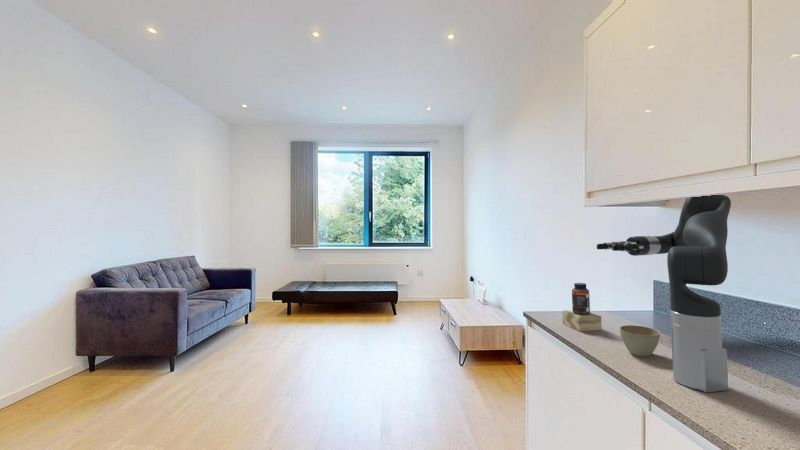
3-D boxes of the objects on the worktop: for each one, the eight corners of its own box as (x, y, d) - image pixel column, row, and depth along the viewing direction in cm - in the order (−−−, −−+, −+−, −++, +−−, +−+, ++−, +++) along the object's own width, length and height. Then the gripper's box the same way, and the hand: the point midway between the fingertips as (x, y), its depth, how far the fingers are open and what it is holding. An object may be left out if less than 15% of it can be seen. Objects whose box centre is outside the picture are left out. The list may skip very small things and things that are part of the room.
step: (601, 329, 125) (601, 315, 125) (579, 331, 123) (578, 317, 124) (583, 322, 135) (583, 309, 135) (562, 323, 133) (562, 310, 134)
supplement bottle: (593, 314, 126) (592, 284, 126) (577, 315, 126) (576, 285, 126) (585, 310, 132) (583, 281, 132) (569, 311, 132) (568, 282, 132)
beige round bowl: (612, 349, 105) (611, 326, 105) (638, 346, 107) (638, 323, 107) (641, 362, 95) (640, 336, 95) (669, 358, 97) (669, 333, 97)
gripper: (628, 235, 140) (592, 237, 138) (658, 236, 126) (618, 238, 124) (628, 253, 140) (592, 255, 138) (659, 256, 126) (619, 258, 124)
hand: (605, 247), depth 131 cm, fingers open, 8 cm apart
